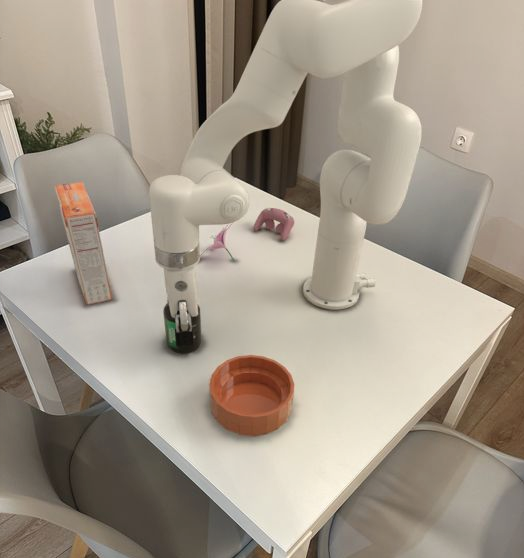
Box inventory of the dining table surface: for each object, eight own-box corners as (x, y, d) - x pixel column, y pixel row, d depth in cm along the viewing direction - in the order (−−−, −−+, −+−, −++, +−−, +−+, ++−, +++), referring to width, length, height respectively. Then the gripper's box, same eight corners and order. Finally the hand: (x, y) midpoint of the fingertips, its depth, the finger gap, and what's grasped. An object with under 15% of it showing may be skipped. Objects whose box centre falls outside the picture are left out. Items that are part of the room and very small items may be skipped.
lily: (234, 245, 131) (216, 212, 126) (260, 248, 122) (242, 213, 117) (200, 273, 127) (179, 241, 122) (224, 279, 118) (203, 244, 113)
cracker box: (73, 271, 117) (53, 184, 103) (100, 266, 119) (83, 180, 105) (84, 306, 108) (63, 216, 94) (113, 300, 110) (97, 211, 96)
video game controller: (290, 241, 135) (298, 215, 132) (283, 241, 131) (291, 214, 128) (259, 230, 138) (266, 204, 136) (250, 229, 134) (258, 202, 132)
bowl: (281, 372, 97) (283, 351, 93) (300, 432, 87) (303, 410, 83) (205, 381, 94) (204, 359, 90) (216, 443, 84) (215, 421, 80)
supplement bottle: (174, 359, 98) (169, 309, 90) (161, 338, 102) (155, 288, 94) (207, 348, 101) (205, 299, 92) (193, 328, 105) (190, 279, 97)
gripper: (205, 278, 82) (207, 357, 93) (194, 224, 94) (197, 300, 106) (157, 282, 80) (165, 361, 92) (152, 226, 93) (160, 302, 104)
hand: (182, 328), depth 99 cm, fingers open, 9 cm apart
